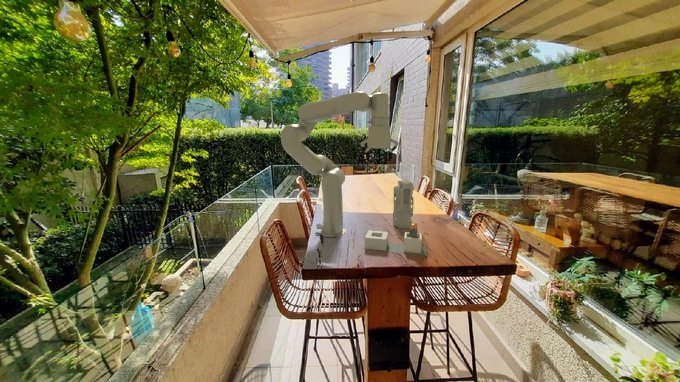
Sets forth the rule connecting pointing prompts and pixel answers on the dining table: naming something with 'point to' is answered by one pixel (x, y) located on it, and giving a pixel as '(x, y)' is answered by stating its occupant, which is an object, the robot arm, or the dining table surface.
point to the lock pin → (413, 230)
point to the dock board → (380, 243)
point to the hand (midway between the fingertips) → (378, 161)
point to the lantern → (403, 204)
